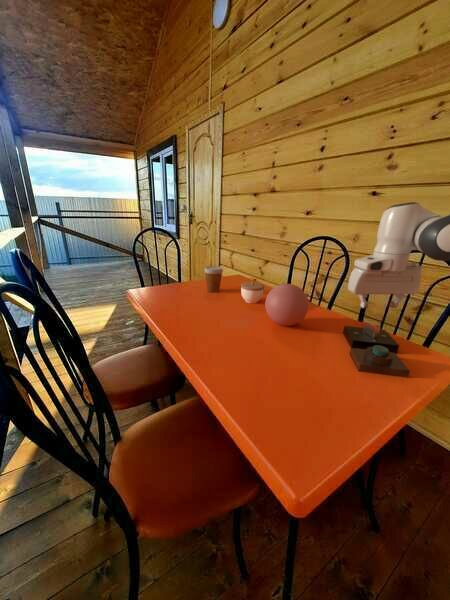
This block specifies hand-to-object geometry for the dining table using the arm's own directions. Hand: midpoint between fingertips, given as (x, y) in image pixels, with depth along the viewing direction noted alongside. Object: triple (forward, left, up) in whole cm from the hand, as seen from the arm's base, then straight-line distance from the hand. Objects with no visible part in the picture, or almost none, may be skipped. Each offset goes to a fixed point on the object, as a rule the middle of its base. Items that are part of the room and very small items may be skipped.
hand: (378, 307), depth 78 cm
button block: (+2, +12, -13) cm, 18 cm away
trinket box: (+41, -32, -13) cm, 54 cm away
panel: (0, -1, -13) cm, 13 cm away
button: (+2, +12, -9) cm, 16 cm away
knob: (0, -1, -10) cm, 10 cm away
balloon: (+25, -11, -13) cm, 30 cm away
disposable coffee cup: (+62, -43, -13) cm, 77 cm away
